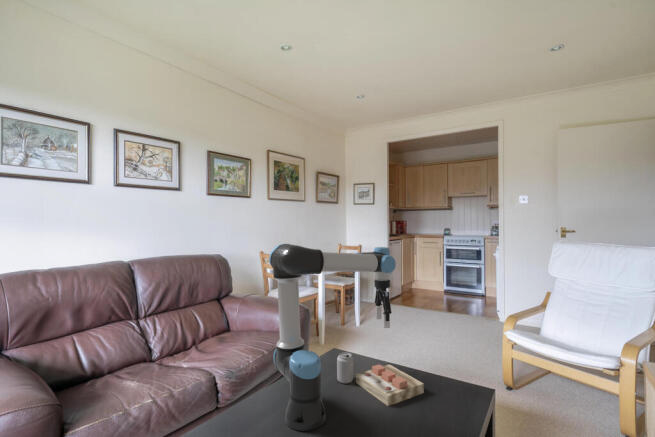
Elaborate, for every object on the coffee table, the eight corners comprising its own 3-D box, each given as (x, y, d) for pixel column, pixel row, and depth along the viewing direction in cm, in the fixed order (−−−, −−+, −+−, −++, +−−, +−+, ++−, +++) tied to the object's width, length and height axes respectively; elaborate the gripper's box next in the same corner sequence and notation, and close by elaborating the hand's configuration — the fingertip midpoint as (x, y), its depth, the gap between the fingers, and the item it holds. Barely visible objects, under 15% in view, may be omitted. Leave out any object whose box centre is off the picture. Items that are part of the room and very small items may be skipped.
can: (353, 384, 147) (353, 358, 147) (337, 384, 147) (337, 357, 147) (352, 376, 155) (352, 351, 155) (337, 376, 155) (336, 351, 155)
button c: (378, 378, 147) (377, 370, 147) (372, 374, 151) (371, 366, 151) (385, 375, 149) (385, 367, 149) (379, 372, 153) (379, 364, 153)
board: (387, 406, 130) (387, 394, 130) (356, 383, 149) (356, 373, 149) (423, 392, 140) (423, 382, 140) (389, 372, 159) (389, 363, 159)
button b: (388, 384, 141) (388, 376, 141) (381, 380, 145) (381, 372, 145) (395, 382, 143) (395, 373, 143) (389, 378, 147) (389, 370, 147)
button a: (399, 392, 135) (399, 383, 135) (392, 387, 139) (392, 378, 139) (407, 389, 137) (407, 380, 137) (400, 384, 141) (399, 376, 141)
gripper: (398, 283, 145) (398, 331, 145) (382, 274, 170) (382, 315, 169) (381, 284, 144) (382, 332, 144) (368, 275, 169) (368, 316, 169)
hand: (382, 323), depth 157 cm, fingers open, 13 cm apart
